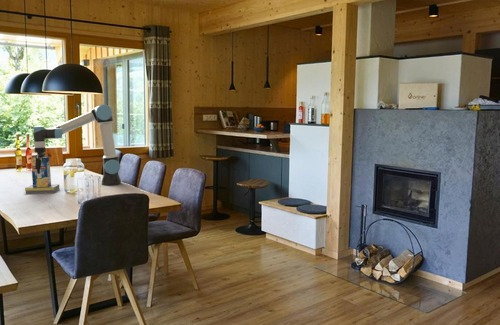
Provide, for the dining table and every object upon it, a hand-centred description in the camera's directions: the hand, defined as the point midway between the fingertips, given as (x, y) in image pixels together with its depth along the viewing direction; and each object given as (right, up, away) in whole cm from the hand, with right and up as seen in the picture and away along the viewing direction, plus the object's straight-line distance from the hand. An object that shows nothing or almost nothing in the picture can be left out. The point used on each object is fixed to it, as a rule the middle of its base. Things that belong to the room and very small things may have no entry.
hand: (42, 176), depth 332 cm
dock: (0, -11, +2) cm, 11 cm away
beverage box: (0, -7, +1) cm, 7 cm away
